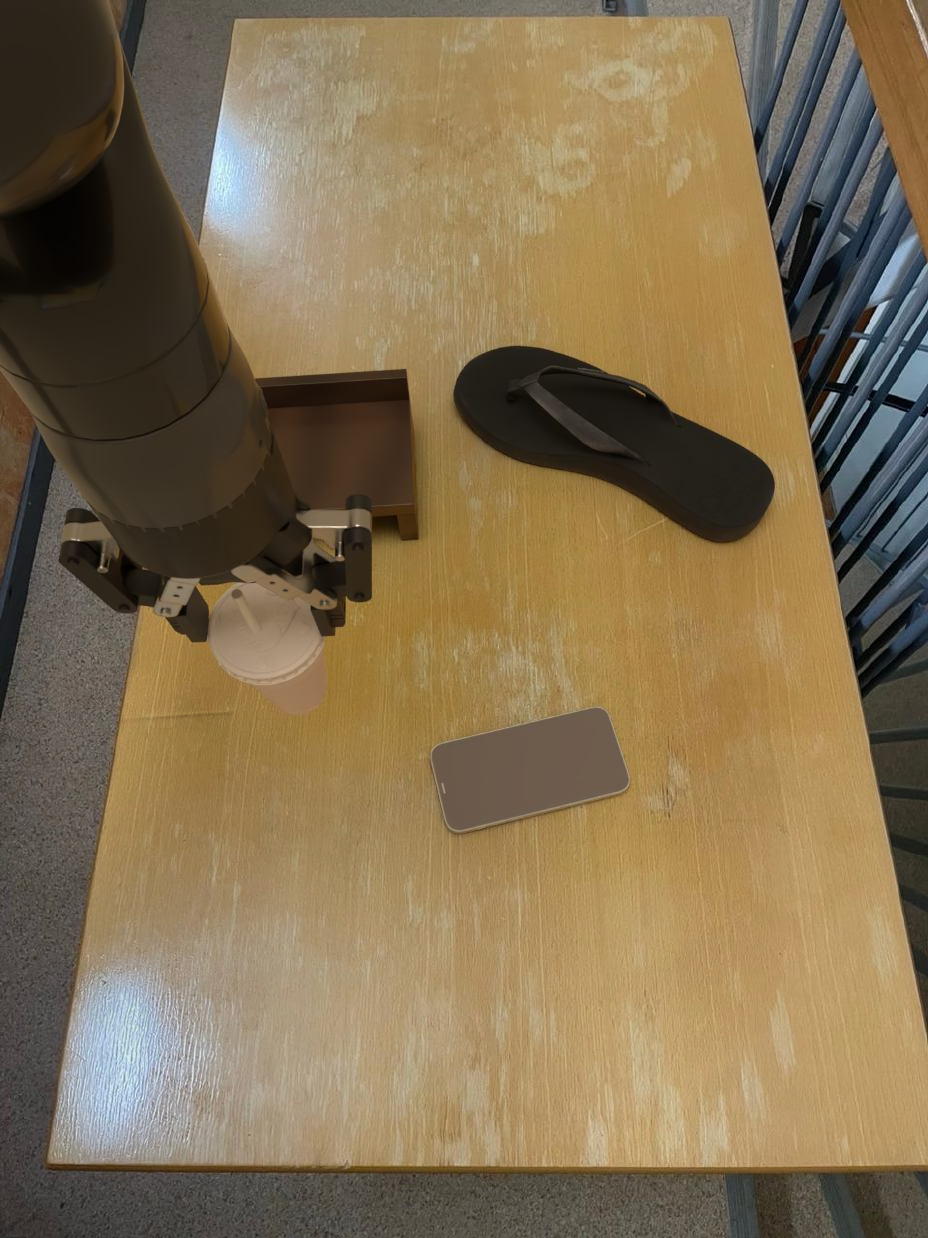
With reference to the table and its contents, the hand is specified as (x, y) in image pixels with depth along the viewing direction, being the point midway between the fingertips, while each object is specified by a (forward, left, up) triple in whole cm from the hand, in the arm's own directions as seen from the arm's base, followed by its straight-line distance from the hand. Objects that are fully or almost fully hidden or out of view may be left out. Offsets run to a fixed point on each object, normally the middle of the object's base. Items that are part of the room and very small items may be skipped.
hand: (265, 623), depth 49 cm
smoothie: (0, 0, -10) cm, 10 cm away
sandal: (+25, +28, -28) cm, 47 cm away
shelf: (-2, +26, -28) cm, 38 cm away
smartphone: (+15, -2, -28) cm, 32 cm away
